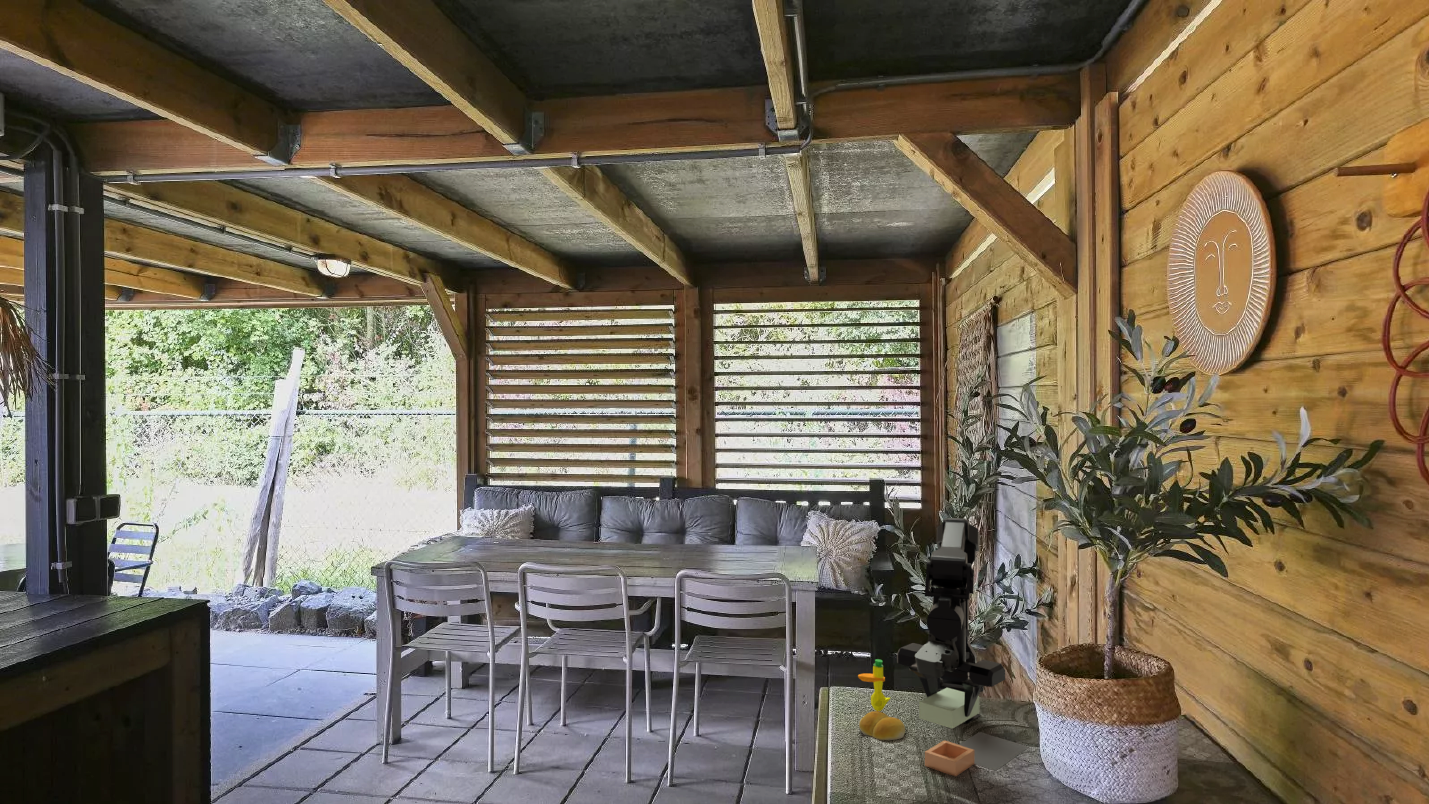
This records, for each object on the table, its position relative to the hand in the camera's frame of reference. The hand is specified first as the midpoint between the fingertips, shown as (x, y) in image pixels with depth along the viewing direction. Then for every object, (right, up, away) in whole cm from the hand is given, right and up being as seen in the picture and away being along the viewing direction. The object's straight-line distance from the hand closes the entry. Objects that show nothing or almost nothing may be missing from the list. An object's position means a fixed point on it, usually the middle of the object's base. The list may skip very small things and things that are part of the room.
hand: (949, 711), depth 144 cm
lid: (0, -1, 0) cm, 1 cm away
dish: (0, -10, 0) cm, 10 cm away
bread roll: (-9, -11, +15) cm, 21 cm away
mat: (+9, -10, +6) cm, 15 cm away
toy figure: (-9, -11, +24) cm, 27 cm away
